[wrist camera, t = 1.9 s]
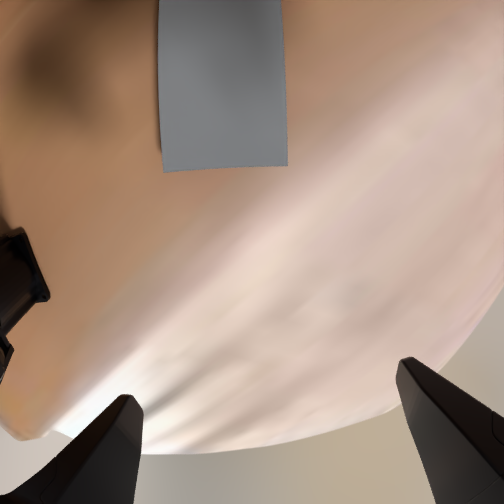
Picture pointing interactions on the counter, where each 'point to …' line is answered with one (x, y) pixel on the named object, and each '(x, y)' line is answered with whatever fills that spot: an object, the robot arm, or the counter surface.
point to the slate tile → (221, 84)
